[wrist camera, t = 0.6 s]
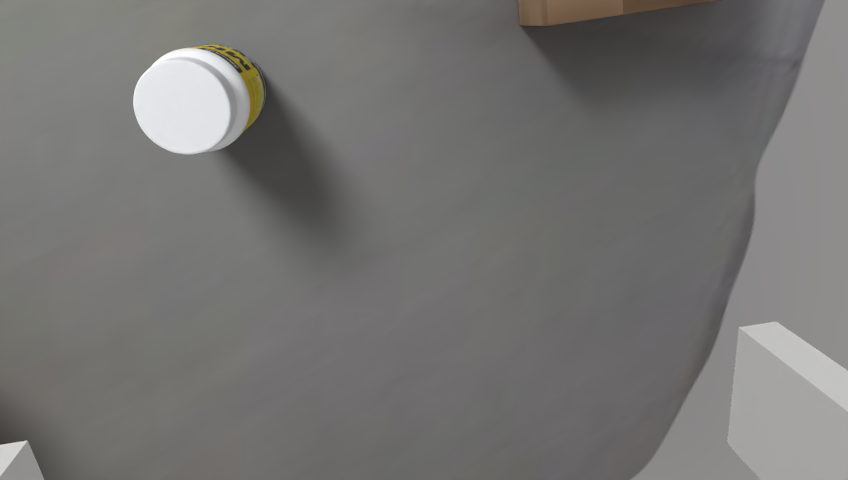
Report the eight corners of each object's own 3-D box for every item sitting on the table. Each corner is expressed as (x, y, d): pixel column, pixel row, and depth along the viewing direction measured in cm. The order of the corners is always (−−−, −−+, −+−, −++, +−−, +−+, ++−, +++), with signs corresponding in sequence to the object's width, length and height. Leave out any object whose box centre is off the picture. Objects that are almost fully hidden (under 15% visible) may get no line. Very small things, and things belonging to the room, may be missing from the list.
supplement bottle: (270, 51, 32) (246, 61, 24) (263, 137, 34) (238, 171, 26) (178, 36, 31) (122, 40, 23) (175, 124, 33) (122, 155, 25)
